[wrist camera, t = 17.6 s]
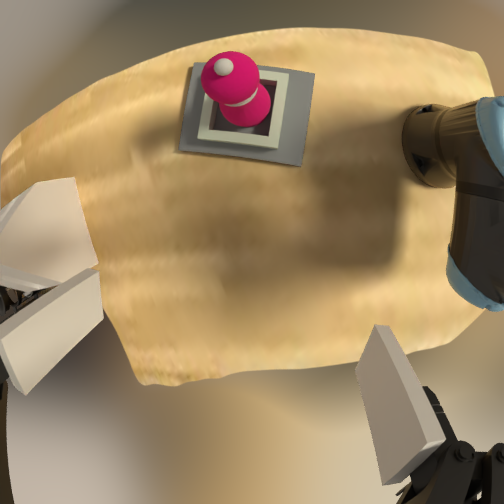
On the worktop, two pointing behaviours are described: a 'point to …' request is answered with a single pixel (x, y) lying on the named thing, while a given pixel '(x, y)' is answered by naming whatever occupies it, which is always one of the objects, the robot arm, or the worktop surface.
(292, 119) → the socket board
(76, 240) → the white notched cradle block
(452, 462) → the robot arm
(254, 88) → the pepper mill
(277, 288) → the worktop surface
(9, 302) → the french press
